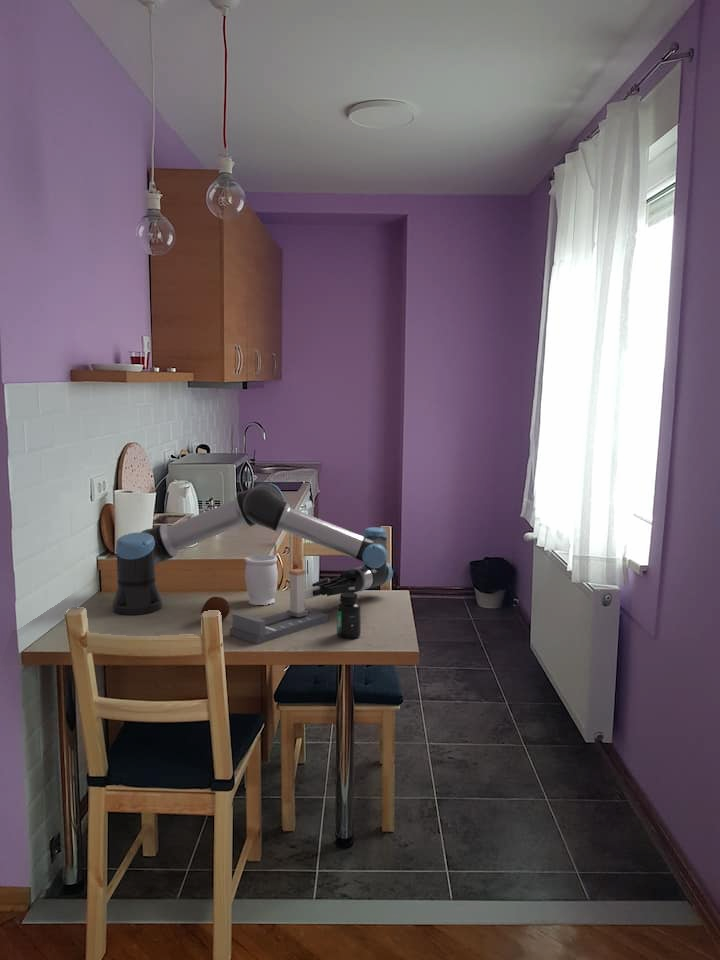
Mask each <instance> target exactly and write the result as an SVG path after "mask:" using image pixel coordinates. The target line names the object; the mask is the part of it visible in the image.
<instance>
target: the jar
mask: <svg viewBox="0 0 720 960" xmlns="http://www.w3.org/2000/svg"><path fill="white" fill-rule="evenodd" d="M244 562H245V563H246V565H245V571H244V579H245V586H246V592H247V594H248V596H249V600H248V604H250V605H252V606H257V605H264V606H269V605H268V604H270V605H273V604H275V603H276V600H275V598H274V597H275V595H276V592H277V585H278V580H279V579H278V578H279V574H278V572H279V571H278V566H277V562H278V556H275V555H270V554H255V555H249V556H247V557H245V558H244ZM272 603H273V604H272Z"/></svg>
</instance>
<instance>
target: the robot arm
mask: <svg viewBox="0 0 720 960" xmlns="http://www.w3.org/2000/svg"><path fill="white" fill-rule="evenodd" d="M242 525H245V526H247V527H253V526H255V525H258V526H262V527H264V528H267V529H269V530H271V531H274V532H279V531H284V532H286V533H288V534H291V535H294V536H296V537H299V538H302V539H304V540H306V541H310V542H312V543H314V544H317V545H320V546H322V547H324V548H327V549H329V550H332V551H335V552H338V553H340V554H343V555H345V556H347V557H351V558H352V559H355V560H358V561H360V562H363V565H362V566H358V567H354V568H351V569H347V570H344V571H342V573H341V574H340V575H339V576H337V577H335V578H332V579H330V578H329V577H324V578H323V579H321V580H319V581H316V582H314V583H312V584H311V585H312V586H311V587H308V588H304V599H305V600H309V599H312V598H316V597H319V596H325V595H326V597H330V596H336V595H341V594H342V593H355V594H356V593H358V592H363V591H364V590H368V589H371V588H375V587H379V586H382V585H385V584H386V583H388V582H390V581H391V580H392V578H393V574H394V570H393V568H392V566H391V564H390V563H389V562H388V561H387V558H388V550H387V548H388V547H387V540H388V538H387V530H386V529H385V528H384V527H373V526H372V527H367V528H365V529H364V531H363V535H362V534H358V533H356V532H354V531H351V530H348V529H346V528H344V527H341V526H338V525H336V524H334V523H330V522H328V521H325V520H323V519H320V518H318V517H316V516H312V515H310V514H308V513H306V512H304V511H300V510H297V509H295V508H292V507H291V506H290V504H289V502H286V501H284V495H283V493H282V491H281V489H280V488H279V487H278V486H277V485H275V484H273V483H269V482H260V483H257V484H255V486H254V487H251V488H249V489H246V490H244V491H241V492H239V493H237V494H236V495H235V497H234V499H233V500H231V501H228V502H227V503H224V504H221V505H218V506H217V507H214V508H211V509H208V510H207V511H204V512H202V513H199V514H197V515H194V516H192V517H190V518H187V519H185V520H182V521H180V522H177V523H175V524H172V525H169V526H168V525H166V524H160V525H157V526H156V527H152V528H147V529H144V530H142V531H141V532H131V533H128V534H124V535H122V536H120V537H119V538H118V539H117V540H116V545H115V546H116V547H115V556H116V557H115V558H116V575H117V576H116V578H117V588H116V591H115V594H114V598H113V601H112V611H113V612H114V613H115V614H119V615H128V616H129V615H131V616H133V615H135V616H136V615H144V614H149V613H154V612H156V611H159V610H160V609H161V608H162V607H163V601H162V600H163V599H162V597H161V594H160V591H159V589H158V586H157V584H156V581H157V580H156V565H159V564H160V563H163V562H165V561H168V560H170V559H173V558H175V557H177V556H178V553H179V551H181V550H183V549H185V548H188V547H191V546H193V545H196V544H197V543H198V544H199V543H200V542H202V541H206V540H207V539H211V538H212V537H216V536H217V535H220V534H223V533H226V532H228V531H230V530H233V529H235V528H237V527H240V526H242Z"/></svg>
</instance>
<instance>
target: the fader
mask: <svg viewBox="0 0 720 960" xmlns="http://www.w3.org/2000/svg"><path fill="white" fill-rule="evenodd" d="M288 574H289V591H290V592H289V593H290V594H289V596H290V597H289V599H290V600H289V601H290V603H289V605H290V607H289V608H290V609H287V610H286V611H287V614H288V615H291V616H295V617H298V618H299V617H302V616H305V615H308V611H307V610H305V609H306V608H305V605H306V604H305V601H306V599H304V589H305V574H306V570H305V569H301V568H293V569H290V570H288Z"/></svg>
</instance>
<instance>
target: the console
mask: <svg viewBox="0 0 720 960" xmlns="http://www.w3.org/2000/svg"><path fill="white" fill-rule="evenodd" d="M305 610H307V611H308V615H305V616H302V617H299V618H298V617H295V616H291V615H288V614H287V610H286V611H284V612H280V613H277V614H273V615H269V616H266V617H263V618H257V617H254V616H251V615H248V614H244V613H241V612H234V613H232V614H231V618H232V619H231V620H232V622H231V624H232V626H231V627H230V628H229V635H230V636H231V635H233V636H232V637H234V636H235V638H237V637H238V639H240V640H244V641H246V642H250V643H252V644H256V645H259V644H262V643H265V642H269V641H272V640H275V639H278V638H281V637H284V636H286V635H290V634H293V633H297V632H299V631H302V630H305V629H309V628H312V627H315V626H318V625H320V624H324V623H327V622H329V614H327V613H323V612H319V611H316V610H313V609H309V608H305Z"/></svg>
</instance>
